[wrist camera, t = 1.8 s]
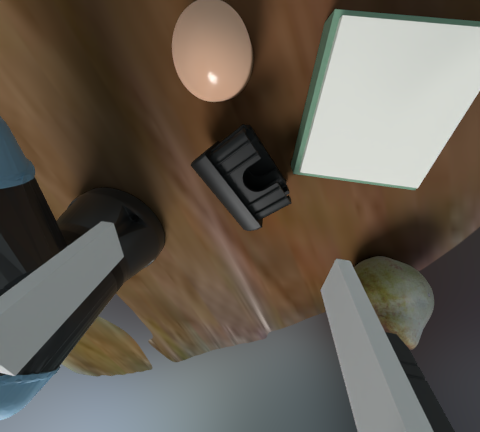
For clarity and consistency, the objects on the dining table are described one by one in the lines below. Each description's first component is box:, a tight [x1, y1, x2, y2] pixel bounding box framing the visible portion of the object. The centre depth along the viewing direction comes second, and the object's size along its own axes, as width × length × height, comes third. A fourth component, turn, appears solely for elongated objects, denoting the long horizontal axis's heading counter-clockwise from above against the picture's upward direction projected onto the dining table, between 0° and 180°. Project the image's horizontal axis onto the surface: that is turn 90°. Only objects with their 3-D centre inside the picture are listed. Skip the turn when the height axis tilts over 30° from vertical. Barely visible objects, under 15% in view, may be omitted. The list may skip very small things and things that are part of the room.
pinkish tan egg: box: [172, 0, 254, 102], centre depth 18 cm, size 7×7×4 cm
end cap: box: [191, 124, 291, 231], centre depth 23 cm, size 10×7×7 cm
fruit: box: [354, 256, 434, 350], centre depth 26 cm, size 10×9×12 cm
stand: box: [291, 9, 480, 190], centre depth 19 cm, size 13×13×4 cm
